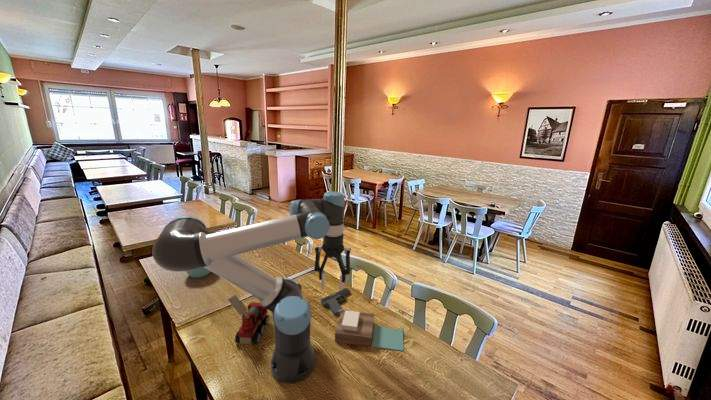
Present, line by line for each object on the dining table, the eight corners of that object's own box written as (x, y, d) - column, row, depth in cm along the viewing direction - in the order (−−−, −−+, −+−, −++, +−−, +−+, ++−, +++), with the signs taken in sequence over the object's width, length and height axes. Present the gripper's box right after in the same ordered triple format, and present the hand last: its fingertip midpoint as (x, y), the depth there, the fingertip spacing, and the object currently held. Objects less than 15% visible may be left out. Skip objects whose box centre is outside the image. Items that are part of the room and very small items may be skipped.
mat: (403, 351, 108) (403, 350, 108) (371, 346, 109) (371, 346, 109) (402, 329, 119) (402, 328, 119) (374, 325, 121) (374, 324, 120)
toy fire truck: (270, 320, 121) (268, 283, 117) (256, 348, 106) (253, 307, 102) (244, 318, 122) (241, 281, 117) (226, 346, 107) (222, 304, 102)
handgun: (362, 298, 137) (345, 286, 145) (335, 312, 124) (318, 299, 132) (362, 303, 138) (345, 291, 145) (335, 318, 125) (317, 304, 133)
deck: (370, 346, 109) (371, 337, 108) (334, 341, 111) (335, 333, 110) (373, 322, 122) (374, 314, 121) (341, 318, 124) (341, 310, 123)
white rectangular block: (356, 331, 111) (356, 326, 111) (341, 329, 112) (341, 324, 111) (359, 316, 120) (359, 312, 119) (345, 314, 120) (345, 310, 120)
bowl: (219, 276, 152) (217, 262, 150) (184, 284, 143) (182, 270, 141) (214, 264, 164) (212, 251, 162) (182, 271, 156) (180, 257, 154)
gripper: (360, 231, 109) (357, 285, 115) (310, 227, 111) (310, 280, 118) (357, 239, 102) (355, 296, 108) (305, 234, 104) (305, 290, 110)
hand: (332, 287), depth 113 cm, fingers open, 6 cm apart
